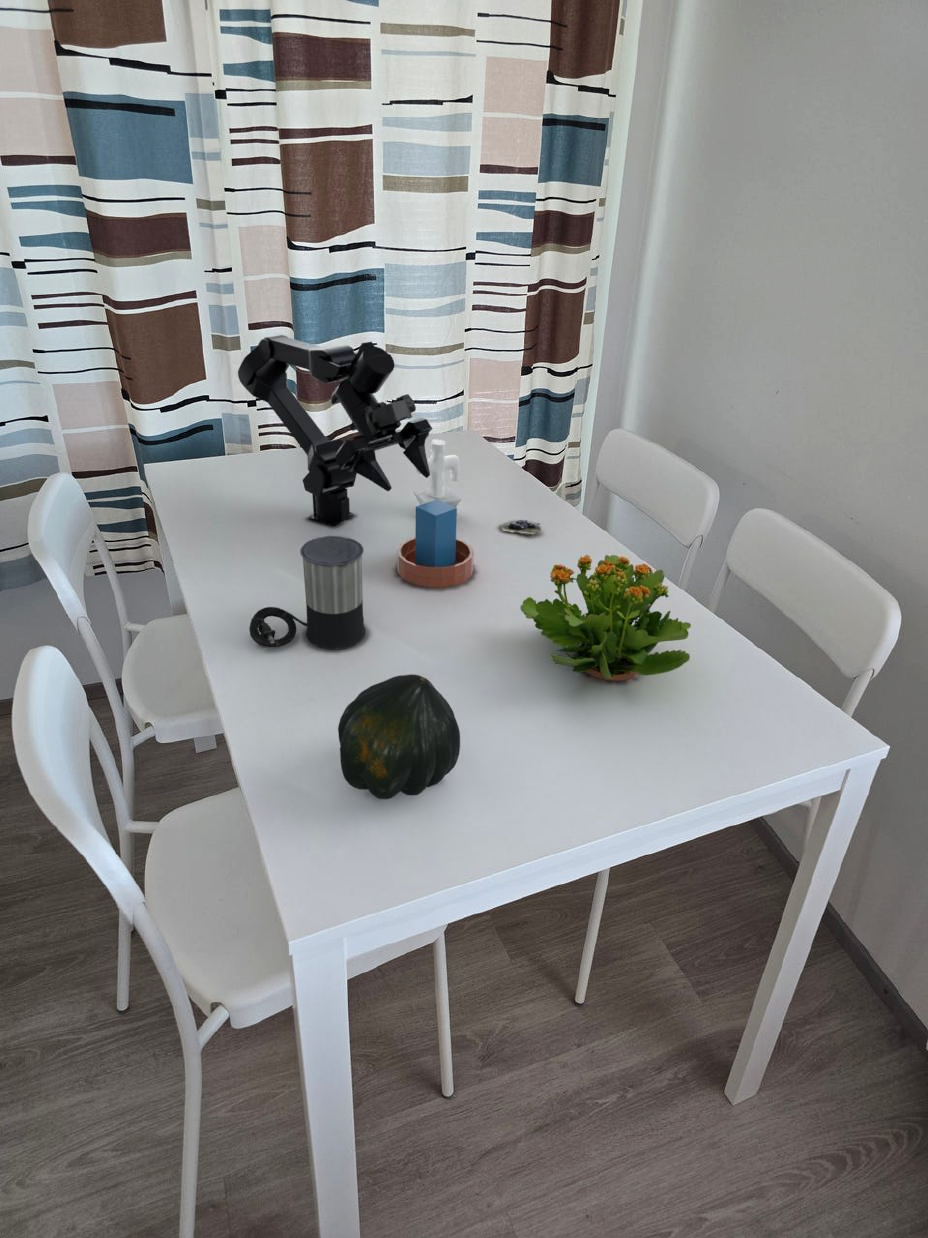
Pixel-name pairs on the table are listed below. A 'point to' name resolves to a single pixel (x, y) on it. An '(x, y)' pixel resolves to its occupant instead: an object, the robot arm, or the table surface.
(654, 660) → the potted flower
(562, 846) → the table surface
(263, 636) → the milk frother
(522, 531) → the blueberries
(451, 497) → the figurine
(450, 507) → the blue rectangular block
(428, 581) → the terracotta bowl
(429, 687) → the squash
